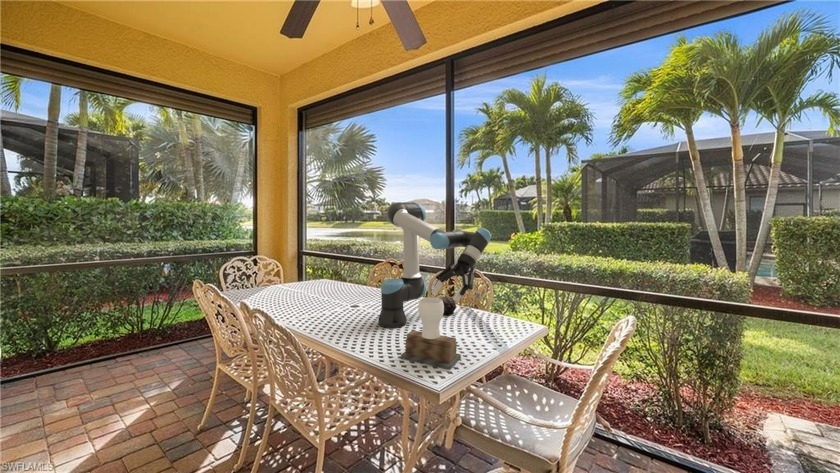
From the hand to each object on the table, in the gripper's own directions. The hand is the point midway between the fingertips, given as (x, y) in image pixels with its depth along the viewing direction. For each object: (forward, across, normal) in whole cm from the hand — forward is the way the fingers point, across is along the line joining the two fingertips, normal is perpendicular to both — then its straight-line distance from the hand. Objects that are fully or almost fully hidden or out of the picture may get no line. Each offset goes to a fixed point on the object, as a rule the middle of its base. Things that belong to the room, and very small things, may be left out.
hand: (443, 297), depth 146 cm
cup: (+15, +1, -7) cm, 17 cm away
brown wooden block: (+22, +1, -13) cm, 26 cm away
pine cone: (-8, +42, -45) cm, 62 cm away
